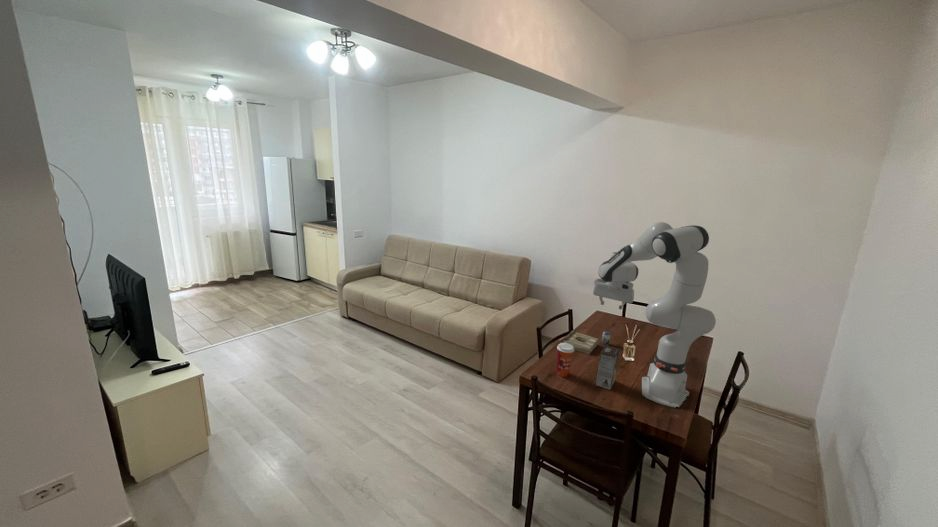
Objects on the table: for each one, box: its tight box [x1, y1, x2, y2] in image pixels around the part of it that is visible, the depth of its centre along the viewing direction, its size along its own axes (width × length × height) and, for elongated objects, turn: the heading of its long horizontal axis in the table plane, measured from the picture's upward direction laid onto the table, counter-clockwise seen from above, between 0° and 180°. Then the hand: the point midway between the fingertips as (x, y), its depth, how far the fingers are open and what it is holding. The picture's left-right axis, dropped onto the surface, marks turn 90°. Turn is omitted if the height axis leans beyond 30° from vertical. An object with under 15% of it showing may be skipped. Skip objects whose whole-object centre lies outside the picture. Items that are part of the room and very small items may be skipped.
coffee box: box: [595, 345, 621, 390], centre depth 163 cm, size 9×6×16 cm
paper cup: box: [555, 342, 575, 378], centre depth 169 cm, size 8×8×14 cm
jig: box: [563, 329, 599, 355], centre depth 199 cm, size 14×14×5 cm
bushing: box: [600, 330, 612, 346], centre depth 202 cm, size 4×4×7 cm
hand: (611, 306), depth 198 cm, fingers open, 8 cm apart
